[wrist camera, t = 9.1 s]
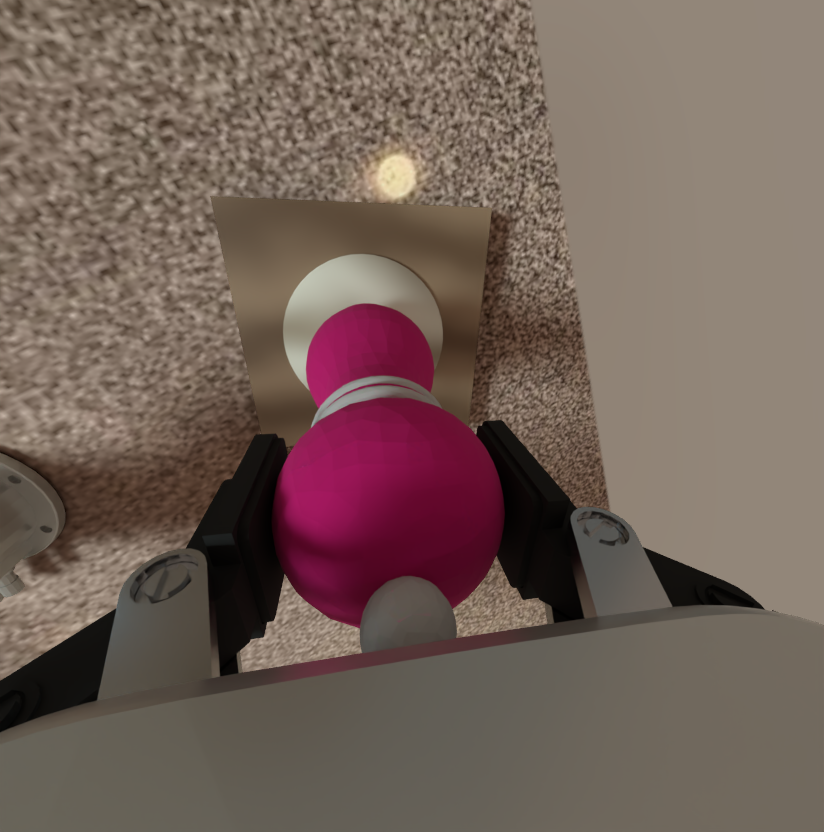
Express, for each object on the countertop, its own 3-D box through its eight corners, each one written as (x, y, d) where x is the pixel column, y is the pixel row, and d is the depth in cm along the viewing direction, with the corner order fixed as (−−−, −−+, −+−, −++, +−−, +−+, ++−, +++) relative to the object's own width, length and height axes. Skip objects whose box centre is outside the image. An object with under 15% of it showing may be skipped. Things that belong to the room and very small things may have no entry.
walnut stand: (459, 422, 33) (468, 436, 31) (270, 433, 30) (263, 449, 28) (479, 211, 25) (493, 207, 23) (224, 201, 22) (208, 195, 20)
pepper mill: (323, 402, 24) (240, 817, 7) (305, 298, 21) (39, 566, 3) (420, 392, 25) (580, 736, 7) (418, 291, 22) (694, 475, 4)
